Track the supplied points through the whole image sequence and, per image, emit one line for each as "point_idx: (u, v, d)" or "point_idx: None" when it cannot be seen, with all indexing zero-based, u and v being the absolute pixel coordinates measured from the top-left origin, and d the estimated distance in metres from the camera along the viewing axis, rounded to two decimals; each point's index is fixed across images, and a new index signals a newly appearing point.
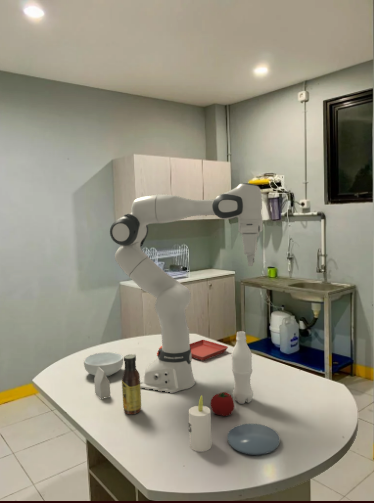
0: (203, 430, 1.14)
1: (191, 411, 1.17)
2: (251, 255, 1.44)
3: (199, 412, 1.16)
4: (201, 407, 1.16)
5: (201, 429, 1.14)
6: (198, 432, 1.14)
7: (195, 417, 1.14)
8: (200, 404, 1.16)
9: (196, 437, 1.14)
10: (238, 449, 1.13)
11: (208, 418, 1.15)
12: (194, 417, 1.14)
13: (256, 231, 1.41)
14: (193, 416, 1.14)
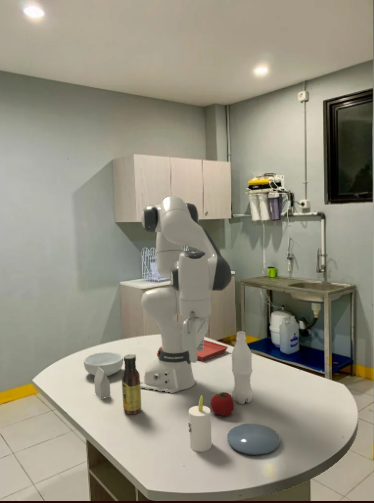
0: (203, 430, 1.14)
1: (191, 411, 1.17)
2: None
3: (199, 412, 1.16)
4: (201, 407, 1.16)
5: (201, 429, 1.14)
6: (198, 432, 1.14)
7: (195, 417, 1.14)
8: (200, 404, 1.16)
9: (196, 437, 1.14)
10: (238, 449, 1.13)
11: (208, 418, 1.15)
12: (194, 417, 1.14)
13: None
14: (193, 416, 1.14)
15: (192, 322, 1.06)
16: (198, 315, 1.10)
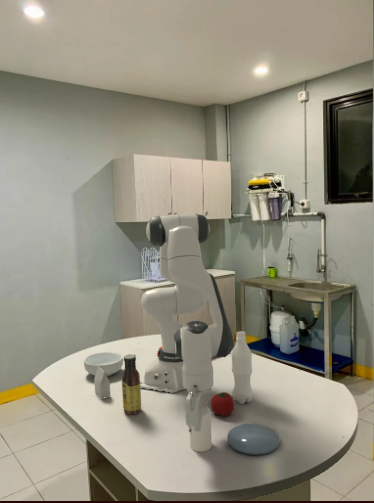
0: (203, 430, 1.14)
1: None
2: None
3: None
4: None
5: (201, 429, 1.14)
6: (198, 432, 1.14)
7: None
8: None
9: (196, 437, 1.14)
10: (238, 449, 1.13)
11: (208, 418, 1.15)
12: None
13: None
14: None
15: (195, 398, 1.08)
16: (201, 389, 1.12)
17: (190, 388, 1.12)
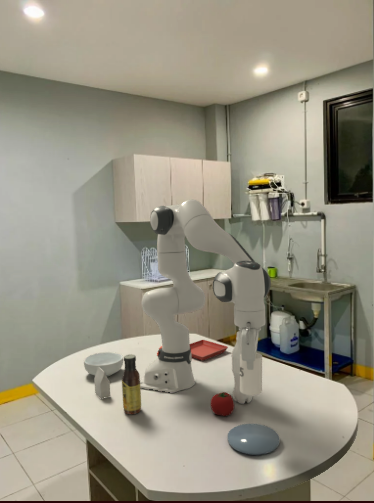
0: (256, 373, 1.13)
1: None
2: None
3: None
4: None
5: (254, 372, 1.13)
6: (251, 376, 1.13)
7: None
8: None
9: (249, 380, 1.14)
10: (238, 449, 1.13)
11: (261, 362, 1.14)
12: None
13: None
14: None
15: (251, 333, 1.07)
16: (254, 326, 1.11)
17: (243, 325, 1.11)
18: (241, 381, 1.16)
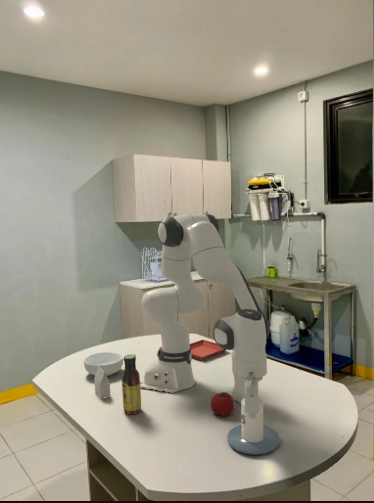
0: (258, 420, 1.15)
1: (244, 402, 1.17)
2: None
3: None
4: None
5: (256, 420, 1.14)
6: (253, 423, 1.15)
7: None
8: None
9: (251, 428, 1.15)
10: (238, 449, 1.13)
11: (262, 409, 1.16)
12: None
13: None
14: None
15: (254, 385, 1.08)
16: (257, 376, 1.12)
17: (246, 375, 1.12)
18: (243, 428, 1.17)
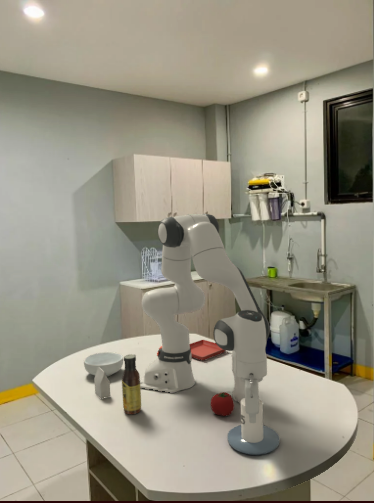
0: (258, 421, 1.15)
1: (243, 403, 1.17)
2: None
3: None
4: None
5: (256, 420, 1.14)
6: (253, 424, 1.15)
7: None
8: None
9: (251, 428, 1.15)
10: (238, 449, 1.13)
11: (261, 409, 1.16)
12: None
13: None
14: None
15: (254, 386, 1.08)
16: (257, 377, 1.12)
17: (246, 376, 1.12)
18: (243, 428, 1.17)
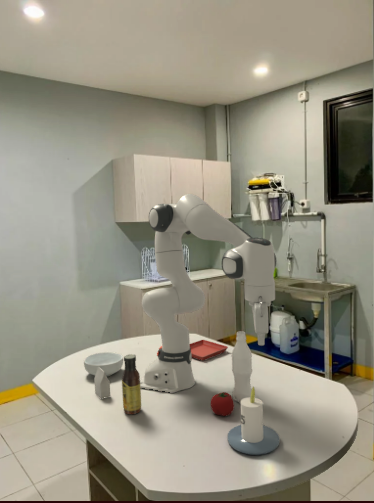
0: (258, 421, 1.15)
1: (243, 403, 1.17)
2: None
3: (252, 403, 1.16)
4: (253, 398, 1.17)
5: (256, 420, 1.14)
6: (253, 424, 1.15)
7: (250, 408, 1.14)
8: (252, 395, 1.16)
9: (251, 428, 1.15)
10: (238, 449, 1.13)
11: (261, 409, 1.16)
12: (249, 409, 1.14)
13: None
14: (247, 407, 1.14)
15: (264, 306, 1.10)
16: (266, 300, 1.14)
17: (255, 300, 1.15)
18: (243, 428, 1.17)
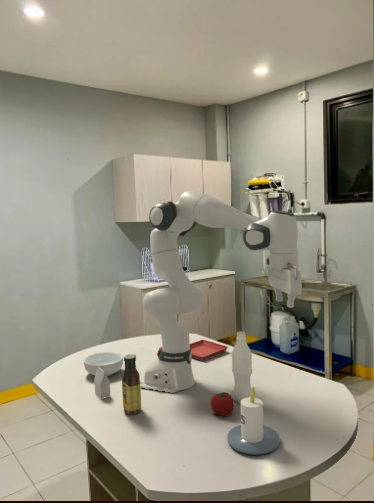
0: (258, 421, 1.15)
1: (243, 403, 1.17)
2: None
3: (252, 403, 1.16)
4: (253, 398, 1.17)
5: (256, 420, 1.15)
6: (253, 424, 1.15)
7: (250, 408, 1.14)
8: (252, 395, 1.17)
9: (251, 428, 1.15)
10: (238, 449, 1.13)
11: (261, 409, 1.16)
12: (249, 409, 1.14)
13: None
14: (247, 407, 1.14)
15: None
16: None
17: (284, 266, 1.25)
18: (243, 428, 1.17)
